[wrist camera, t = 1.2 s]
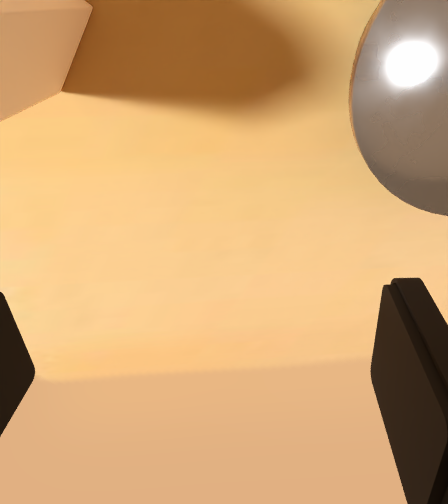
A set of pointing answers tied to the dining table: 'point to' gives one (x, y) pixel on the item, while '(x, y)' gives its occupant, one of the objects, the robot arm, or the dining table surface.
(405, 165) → the cake stand
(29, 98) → the milk carton
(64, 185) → the dining table surface
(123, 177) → the dining table surface
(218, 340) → the dining table surface
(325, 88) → the dining table surface
